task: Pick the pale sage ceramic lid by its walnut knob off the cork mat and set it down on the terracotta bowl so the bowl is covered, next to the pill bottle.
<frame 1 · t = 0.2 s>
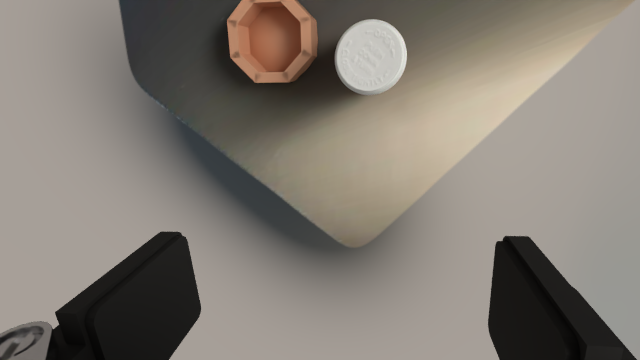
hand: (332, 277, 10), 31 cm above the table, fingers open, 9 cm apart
bowl: (280, 40, 38), on the table
pill bottle: (372, 59, 37), on the table
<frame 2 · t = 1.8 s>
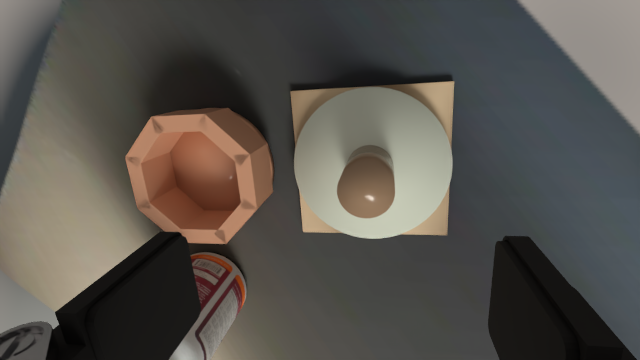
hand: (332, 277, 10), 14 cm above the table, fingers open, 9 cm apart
bowl: (219, 165, 26), on the table
mat: (370, 163, 23), on the table
lid: (370, 164, 23), resting on mat
pill bottle: (215, 280, 29), on the table
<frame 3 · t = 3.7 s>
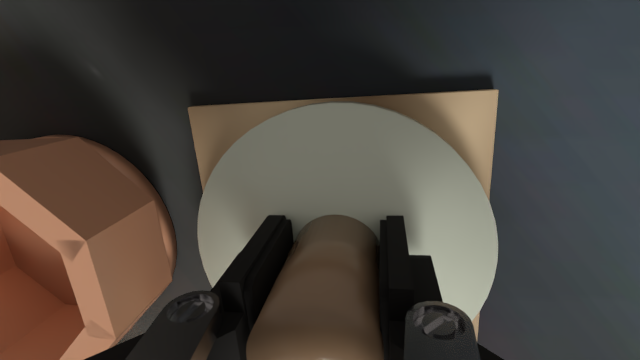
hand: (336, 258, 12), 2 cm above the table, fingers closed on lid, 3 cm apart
bowl: (85, 231, 15), on the table
mat: (340, 234, 13), on the table
lid: (340, 243, 12), point 1 cm above the table, touching gripper
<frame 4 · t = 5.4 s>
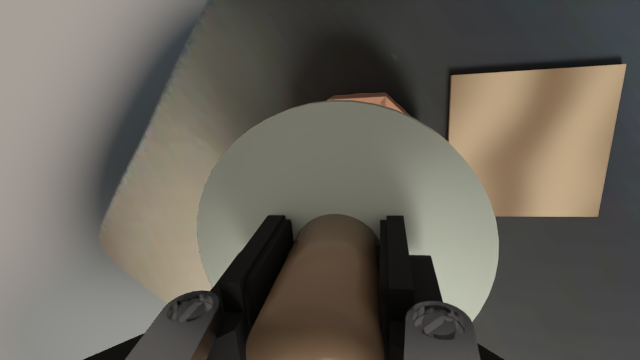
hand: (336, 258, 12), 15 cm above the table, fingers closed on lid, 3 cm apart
bowl: (362, 151, 26), on the table
mat: (524, 146, 24), on the table
lid: (340, 243, 12), point 14 cm above the table, touching gripper
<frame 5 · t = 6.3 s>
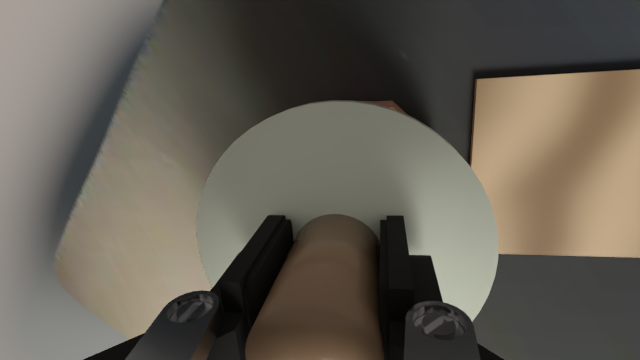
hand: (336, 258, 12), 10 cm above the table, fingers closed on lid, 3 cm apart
mat: (567, 169, 19), on the table
lid: (339, 243, 12), point 9 cm above the table, touching gripper
when the fingers open (6 cm above the table, at t = 7.1 s): lid drops 2 cm, resting on bowl.
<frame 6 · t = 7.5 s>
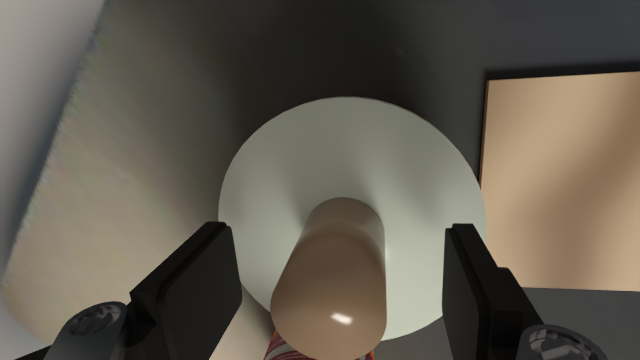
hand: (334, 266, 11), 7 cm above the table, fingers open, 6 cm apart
mat: (596, 188, 16), on the table
lid: (346, 225, 14), point 4 cm above the table, touching bowl
pill bottle: (324, 344, 21), on the table
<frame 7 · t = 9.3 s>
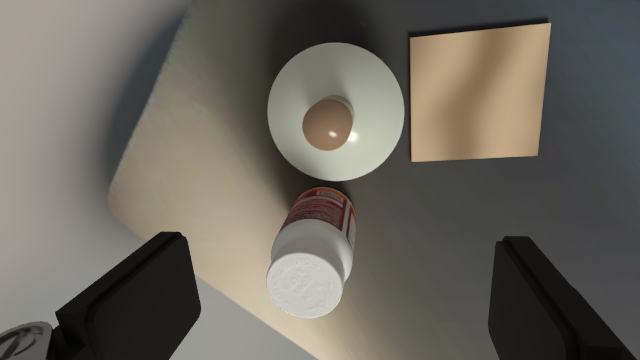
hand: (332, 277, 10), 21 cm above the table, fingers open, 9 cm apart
mat: (474, 97, 28), on the table
lid: (335, 114, 26), point 4 cm above the table, touching bowl
pill bottle: (324, 214, 34), on the table
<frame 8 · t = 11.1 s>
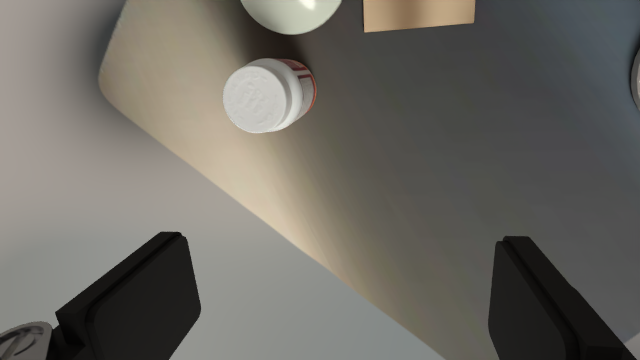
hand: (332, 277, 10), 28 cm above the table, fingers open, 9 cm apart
pill bottle: (289, 89, 37), on the table
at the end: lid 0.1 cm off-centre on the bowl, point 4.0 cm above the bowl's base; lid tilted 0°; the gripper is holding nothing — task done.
